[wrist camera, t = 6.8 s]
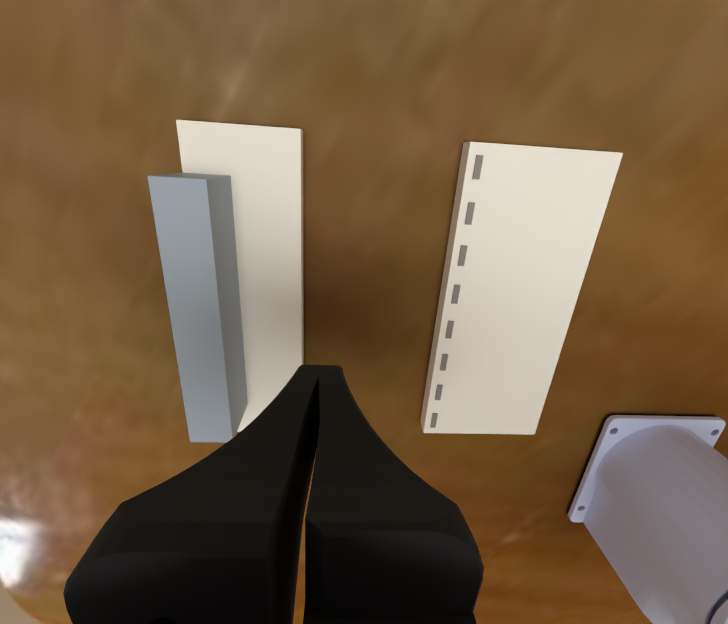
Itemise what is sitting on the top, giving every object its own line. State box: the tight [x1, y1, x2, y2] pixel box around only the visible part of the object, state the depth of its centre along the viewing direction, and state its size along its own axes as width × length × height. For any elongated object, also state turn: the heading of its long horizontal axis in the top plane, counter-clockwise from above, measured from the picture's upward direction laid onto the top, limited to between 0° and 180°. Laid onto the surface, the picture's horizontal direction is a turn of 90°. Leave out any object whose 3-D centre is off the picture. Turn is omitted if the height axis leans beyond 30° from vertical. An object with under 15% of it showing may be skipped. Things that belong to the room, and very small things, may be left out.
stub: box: [148, 120, 304, 442], centre depth 17 cm, size 16×5×4 cm, turn 176°
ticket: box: [420, 142, 623, 434], centre depth 19 cm, size 16×7×1 cm, turn 176°
